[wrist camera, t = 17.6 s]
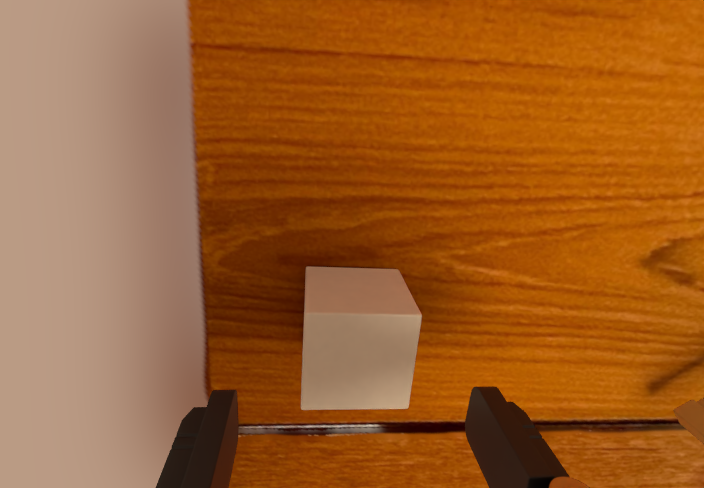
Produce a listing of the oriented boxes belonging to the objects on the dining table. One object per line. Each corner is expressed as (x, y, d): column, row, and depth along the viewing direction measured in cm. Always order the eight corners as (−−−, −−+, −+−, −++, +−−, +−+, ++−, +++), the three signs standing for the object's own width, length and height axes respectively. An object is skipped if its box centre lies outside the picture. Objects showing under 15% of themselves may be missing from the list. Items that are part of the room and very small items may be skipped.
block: (389, 347, 21) (408, 409, 17) (302, 346, 21) (300, 410, 17) (398, 268, 20) (422, 315, 16) (305, 265, 19) (304, 312, 15)
